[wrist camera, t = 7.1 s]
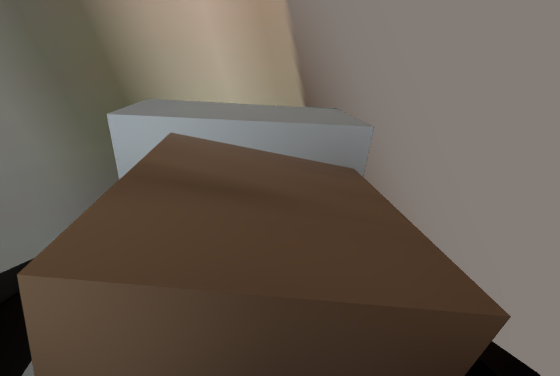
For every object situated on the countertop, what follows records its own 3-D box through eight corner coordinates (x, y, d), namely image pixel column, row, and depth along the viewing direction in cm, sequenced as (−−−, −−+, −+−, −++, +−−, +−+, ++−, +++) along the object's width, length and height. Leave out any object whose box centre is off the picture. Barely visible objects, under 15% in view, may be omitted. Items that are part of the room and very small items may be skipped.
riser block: (314, 250, 16) (335, 307, 12) (170, 253, 14) (145, 316, 11) (336, 108, 12) (374, 127, 9) (151, 97, 11) (106, 114, 8)
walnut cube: (306, 298, 12) (362, 505, 6) (158, 285, 10) (61, 531, 5) (354, 168, 9) (510, 316, 4) (170, 132, 8) (17, 274, 3)
